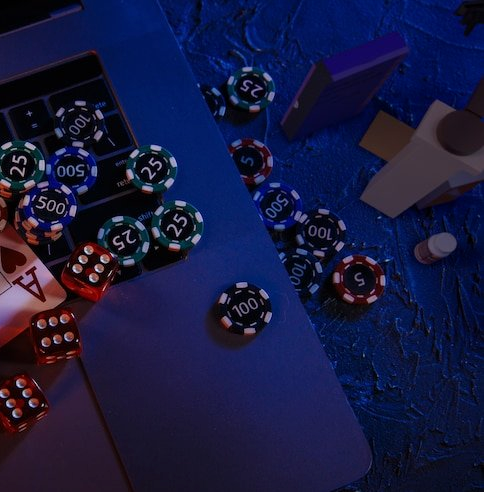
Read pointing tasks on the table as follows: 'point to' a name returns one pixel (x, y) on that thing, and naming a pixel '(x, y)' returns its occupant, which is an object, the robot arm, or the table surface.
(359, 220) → the table surface
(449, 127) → the paddle
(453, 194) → the small box
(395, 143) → the mat
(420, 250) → the pill bottle
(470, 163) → the stand
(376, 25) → the table surface
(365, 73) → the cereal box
